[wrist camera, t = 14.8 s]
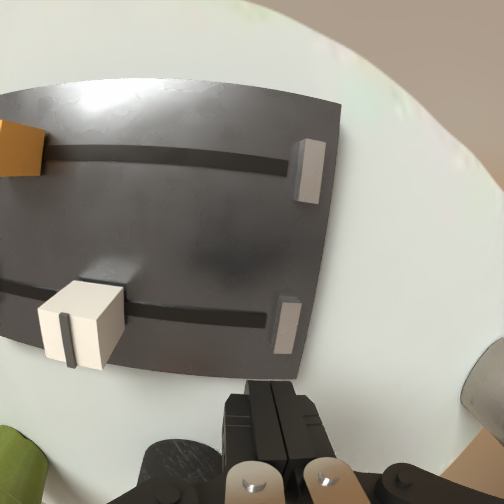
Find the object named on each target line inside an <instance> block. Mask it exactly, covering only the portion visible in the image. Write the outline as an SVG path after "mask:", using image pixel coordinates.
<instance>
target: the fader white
mask: <svg viewBox="0 0 504 504" xmlns="http://www.w3.org/2000/svg"><path fill="white" fill-rule="evenodd" d="M38 315H39V321H40V327H41V333H42V338H43V343H44V348H45V353H46V357H47V358H51V359H55V360H59V361H63V362H66V363H67V367H70V368H74V369H75V368H76V366H77V365H79V366H84V367H88V368H93V369H98V370H103V368H104V366H105V364H106V363H107V361H108V359H109V357H110V355H111V353H112V352H113V350H114V348H115V346H116V344H117V343H118V341H119V339H120V337H121V336H122V334H123V332H124V330H125V322H124V292H123V287H119V286H111V285H104V284H96V283H89V282H82V281H76V280H74V281H72V282H71V283H70V284H68V285H67V286H66V287H64V288H63V289H62V290H60V291H59V292H58V293H57V294H55V295H54V296H53V297H51V298H50V299H49V300H48V301H46V302H45V303H44V304H43V305H41V306H40V307H39V308H38Z"/></svg>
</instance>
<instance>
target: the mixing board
mask: <svg viewBox="0 0 504 504" xmlns="http://www.w3.org/2000/svg"><path fill="white" fill-rule="evenodd" d="M340 114H341V104H338V103H334V102H330V101H326V100H322V99H318V98H313V97H309V96H304V95H299V94H295V93H289V92H284V91H279V90H273V89H267V88H261V87H254V86H247V85H239V84H231V83H222V82H212V81H199V80H183V79H109V80H94V81H82V82H72V83H64V84H56V85H49V86H43V87H37V88H31V89H26V90H20V91H16V92H11V93H6V94H2V95H0V120H6V121H10V122H15V123H19V124H23V125H27V126H31V127H35V128H39V129H43V130H46V131H45V137H44V144H43V152H42V161H41V171H40V176H10V177H0V336H3V337H6V338H9V339H12V340H15V341H18V342H21V343H25V344H28V345H32V346H35V347H39V348H42V349H45V348H44V343H43V338H42V333H41V327H40V321H39V315H38V308H39V307H40V306H41V305H43V304H44V303H45V302H46V301H48V300H49V299H50V298H51V297H53V296H54V295H55V294H57V293H58V292H59V291H60V290H62V289H63V288H64V287H66V286H67V285H68V284H70V283H71V282H72V281H74V280H76V281H82V282H89V283H96V284H104V285H111V286H119V287H123V292H124V322H125V330H124V332H123V334H122V336H121V337H120V339H119V341H118V343H117V344H116V346H115V348H114V350H113V352H112V353H111V355H110V357H109V359H108V361H107V363H108V364H114V365H120V366H126V367H132V368H138V369H145V370H152V371H160V372H168V373H177V374H186V375H197V376H210V377H225V378H245V379H296V377H297V373H298V369H299V365H300V361H301V357H302V352H303V348H304V344H305V339H306V335H307V330H308V326H309V321H310V316H311V311H312V307H313V302H314V297H315V292H316V286H317V281H318V276H319V270H320V265H321V259H322V253H323V247H324V241H325V235H326V229H327V223H328V216H329V209H330V202H331V195H332V188H333V180H334V172H335V164H336V155H337V146H338V136H339V126H340Z"/></svg>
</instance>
